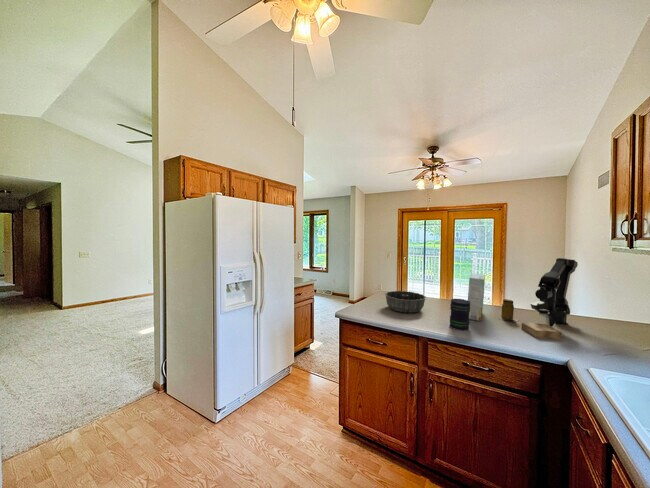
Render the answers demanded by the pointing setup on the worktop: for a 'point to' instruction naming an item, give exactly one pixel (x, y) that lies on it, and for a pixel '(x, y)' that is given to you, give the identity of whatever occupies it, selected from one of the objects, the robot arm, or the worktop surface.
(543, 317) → the cream block
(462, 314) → the storage jar
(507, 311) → the condiment
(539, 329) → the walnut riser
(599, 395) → the worktop surface
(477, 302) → the snack box
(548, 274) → the robot arm
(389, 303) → the bundt pan
